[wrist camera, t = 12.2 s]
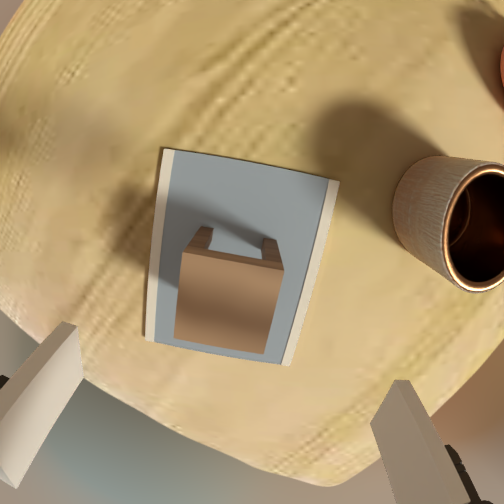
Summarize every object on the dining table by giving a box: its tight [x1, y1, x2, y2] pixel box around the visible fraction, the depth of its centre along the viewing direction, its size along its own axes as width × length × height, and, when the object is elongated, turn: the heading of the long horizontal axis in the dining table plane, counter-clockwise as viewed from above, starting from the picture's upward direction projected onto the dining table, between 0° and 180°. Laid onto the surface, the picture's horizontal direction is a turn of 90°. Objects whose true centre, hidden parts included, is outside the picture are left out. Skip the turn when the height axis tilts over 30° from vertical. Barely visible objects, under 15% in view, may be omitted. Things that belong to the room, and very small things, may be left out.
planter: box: [392, 156, 504, 293], centre depth 24 cm, size 11×11×10 cm
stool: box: [173, 226, 284, 354], centre depth 27 cm, size 7×7×8 cm
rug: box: [145, 149, 340, 366], centre depth 31 cm, size 20×16×1 cm
